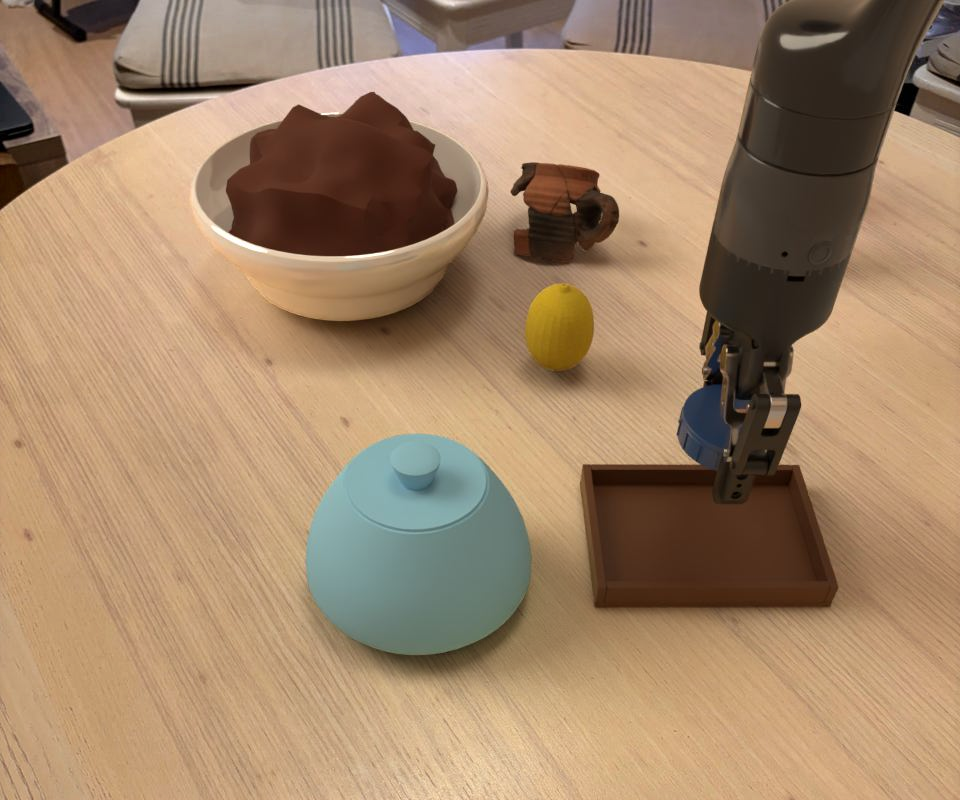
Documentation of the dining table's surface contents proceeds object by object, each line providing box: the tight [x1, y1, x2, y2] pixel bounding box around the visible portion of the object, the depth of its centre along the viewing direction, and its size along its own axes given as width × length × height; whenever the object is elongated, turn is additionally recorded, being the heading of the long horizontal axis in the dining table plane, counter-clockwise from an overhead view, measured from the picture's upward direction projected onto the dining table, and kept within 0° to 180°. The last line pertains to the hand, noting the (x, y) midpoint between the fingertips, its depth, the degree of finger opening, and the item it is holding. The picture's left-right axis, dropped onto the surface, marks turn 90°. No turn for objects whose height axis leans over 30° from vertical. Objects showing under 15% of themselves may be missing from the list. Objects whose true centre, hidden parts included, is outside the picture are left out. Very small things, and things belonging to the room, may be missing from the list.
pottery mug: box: [509, 161, 620, 263], centre depth 96 cm, size 12×10×8 cm
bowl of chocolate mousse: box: [189, 91, 489, 322], centre depth 87 cm, size 25×25×15 cm
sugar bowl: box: [305, 433, 532, 656], centre depth 66 cm, size 15×15×12 cm
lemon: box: [524, 282, 595, 372], centre depth 82 cm, size 6×6×8 cm
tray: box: [579, 463, 840, 608], centre depth 72 cm, size 16×12×2 cm
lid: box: [675, 384, 751, 471], centre depth 65 cm, size 6×6×2 cm
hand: (719, 463), depth 67 cm, fingers closed on lid, 6 cm apart
